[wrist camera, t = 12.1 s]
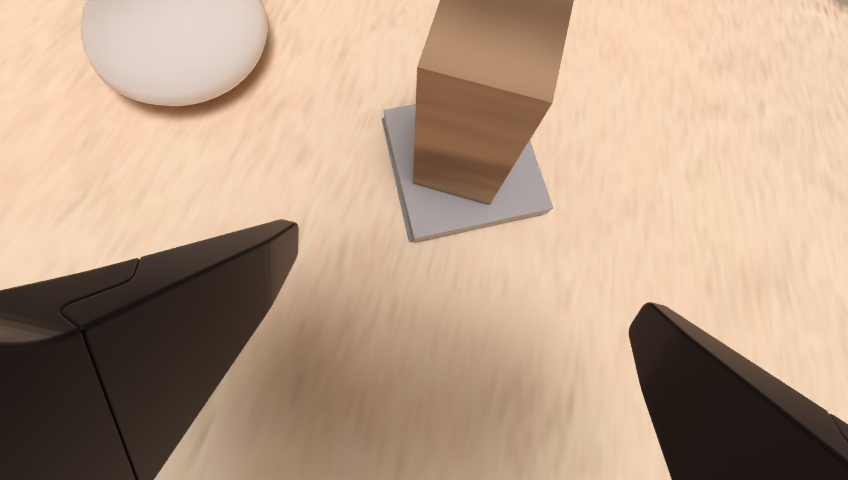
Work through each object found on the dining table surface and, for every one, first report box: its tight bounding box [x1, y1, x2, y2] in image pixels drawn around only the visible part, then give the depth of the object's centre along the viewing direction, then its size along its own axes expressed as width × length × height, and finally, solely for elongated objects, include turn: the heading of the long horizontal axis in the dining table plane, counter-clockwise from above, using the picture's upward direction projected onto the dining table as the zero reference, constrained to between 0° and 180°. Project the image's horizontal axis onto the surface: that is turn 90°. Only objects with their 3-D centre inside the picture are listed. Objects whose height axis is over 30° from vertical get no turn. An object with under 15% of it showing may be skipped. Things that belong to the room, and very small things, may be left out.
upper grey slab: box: [384, 104, 553, 242], centre depth 24 cm, size 9×9×1 cm
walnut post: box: [413, 0, 574, 204], centre depth 18 cm, size 5×5×10 cm
